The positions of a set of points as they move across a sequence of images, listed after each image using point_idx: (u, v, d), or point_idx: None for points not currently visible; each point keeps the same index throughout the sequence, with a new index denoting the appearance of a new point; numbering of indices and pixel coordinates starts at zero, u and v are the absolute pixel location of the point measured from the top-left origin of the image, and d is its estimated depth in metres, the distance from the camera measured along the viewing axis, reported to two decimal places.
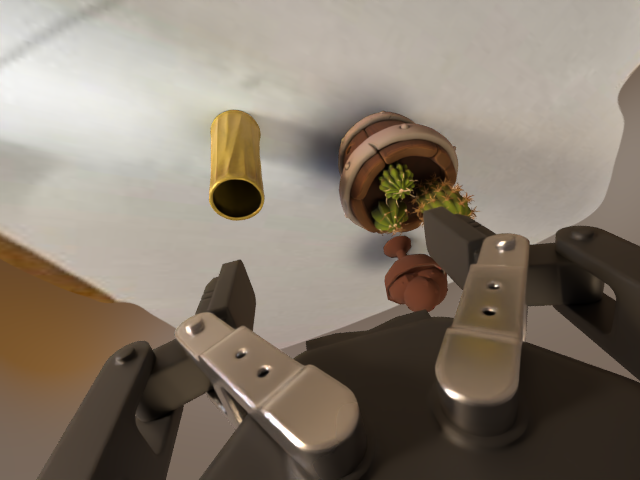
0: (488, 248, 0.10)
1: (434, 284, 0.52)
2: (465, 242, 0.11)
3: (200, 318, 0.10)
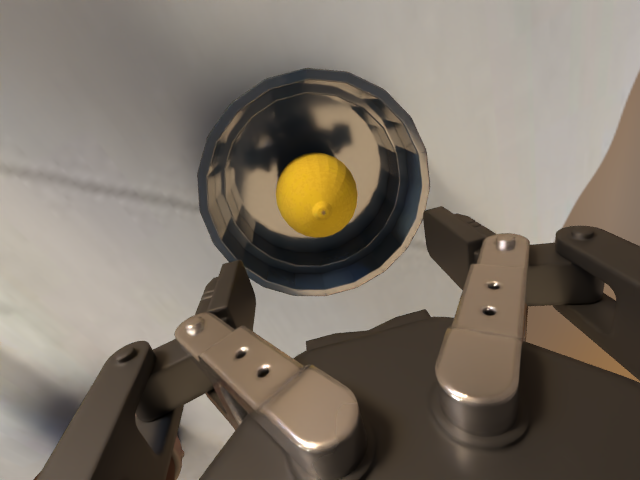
0: (488, 248, 0.10)
1: None
2: (466, 242, 0.11)
3: (200, 318, 0.10)
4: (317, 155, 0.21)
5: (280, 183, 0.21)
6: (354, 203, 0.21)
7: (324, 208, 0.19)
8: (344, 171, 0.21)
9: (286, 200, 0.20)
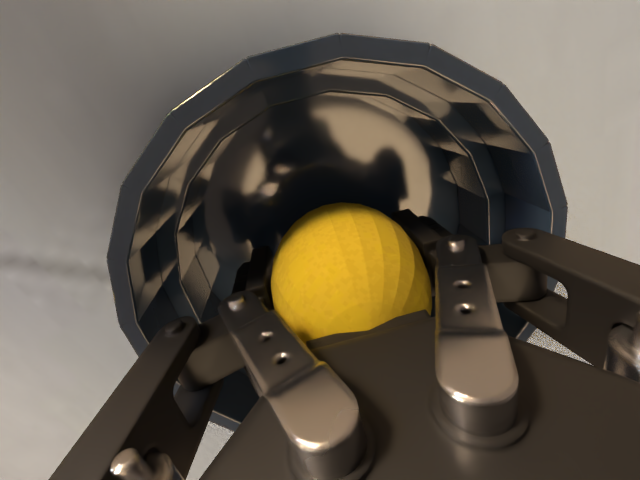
0: (439, 249, 0.10)
1: None
2: (422, 242, 0.11)
3: (241, 296, 0.10)
4: (353, 215, 0.11)
5: (279, 271, 0.11)
6: None
7: None
8: (411, 251, 0.10)
9: (291, 316, 0.10)
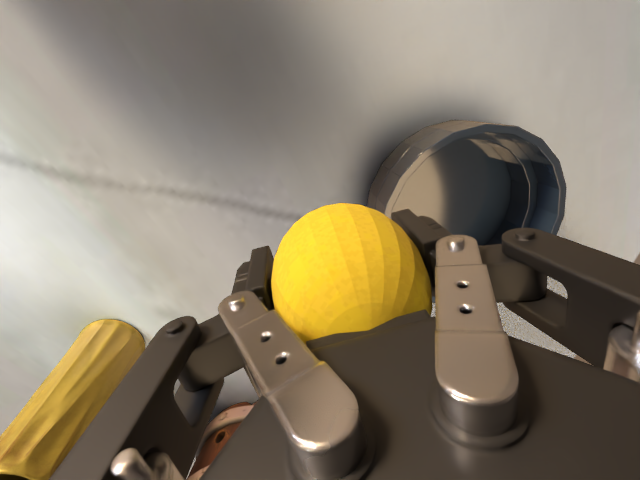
0: (439, 248, 0.10)
1: None
2: (422, 242, 0.11)
3: (241, 296, 0.10)
4: (353, 216, 0.11)
5: (279, 272, 0.11)
6: (430, 315, 0.10)
7: None
8: (411, 252, 0.10)
9: (291, 317, 0.10)
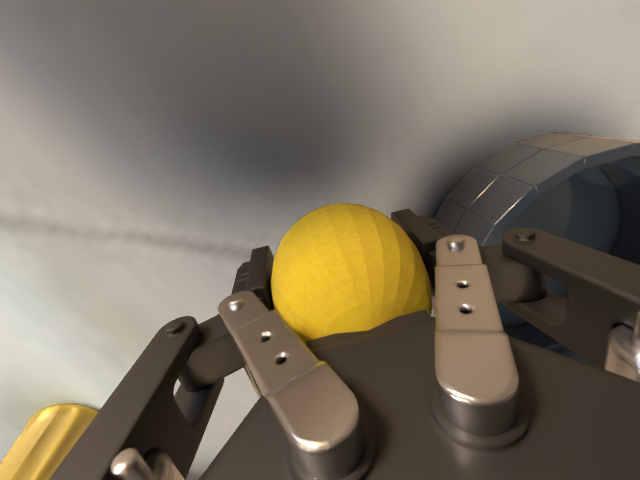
0: (439, 249, 0.10)
1: None
2: (422, 243, 0.11)
3: (241, 296, 0.10)
4: (353, 216, 0.11)
5: (279, 272, 0.11)
6: None
7: None
8: (411, 252, 0.10)
9: (291, 317, 0.10)
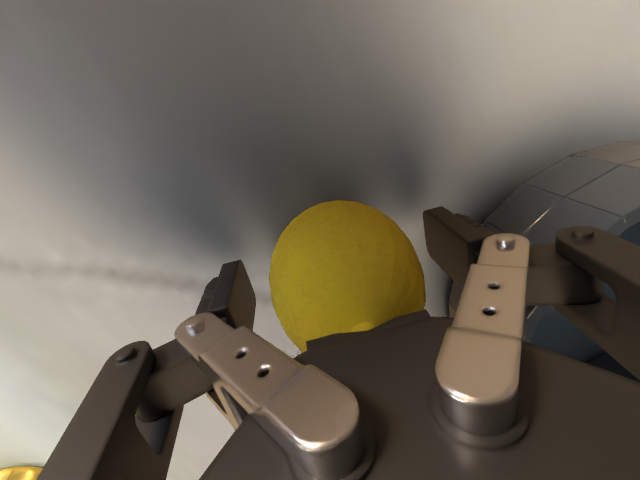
0: (488, 248, 0.10)
1: None
2: (466, 242, 0.11)
3: (200, 318, 0.10)
4: (349, 212, 0.11)
5: (277, 266, 0.11)
6: (423, 308, 0.11)
7: None
8: (405, 247, 0.10)
9: (288, 309, 0.10)
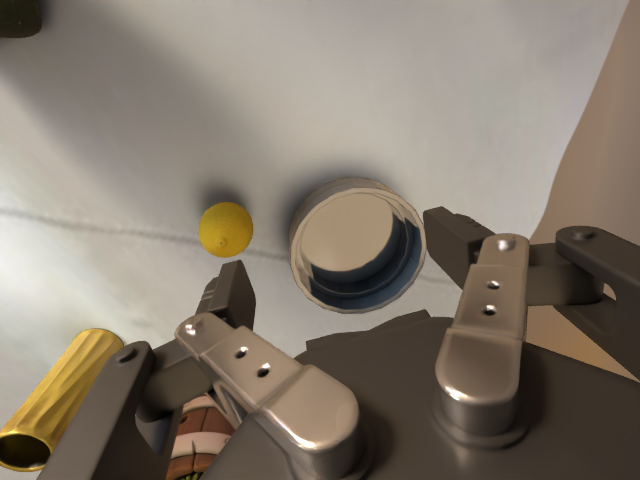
0: (488, 248, 0.10)
1: None
2: (465, 242, 0.11)
3: (200, 318, 0.10)
4: (223, 205, 0.33)
5: (199, 223, 0.33)
6: (245, 236, 0.33)
7: (221, 240, 0.31)
8: (238, 216, 0.33)
9: (200, 235, 0.32)
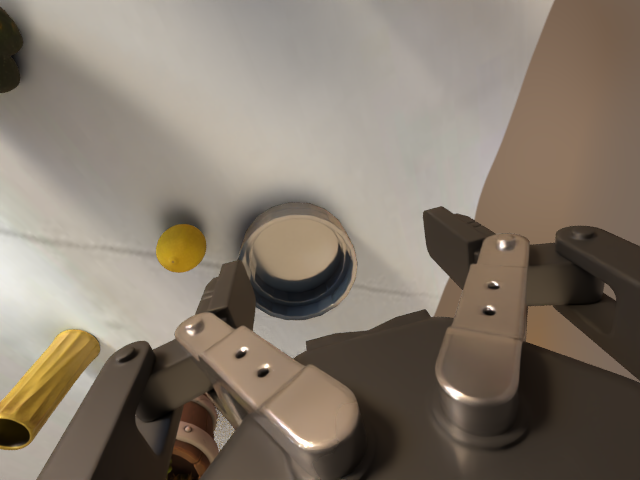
0: (488, 248, 0.10)
1: None
2: (465, 242, 0.11)
3: (200, 318, 0.10)
4: (177, 228, 0.39)
5: (157, 243, 0.39)
6: (196, 255, 0.39)
7: (173, 259, 0.37)
8: (189, 238, 0.39)
9: (157, 254, 0.38)
